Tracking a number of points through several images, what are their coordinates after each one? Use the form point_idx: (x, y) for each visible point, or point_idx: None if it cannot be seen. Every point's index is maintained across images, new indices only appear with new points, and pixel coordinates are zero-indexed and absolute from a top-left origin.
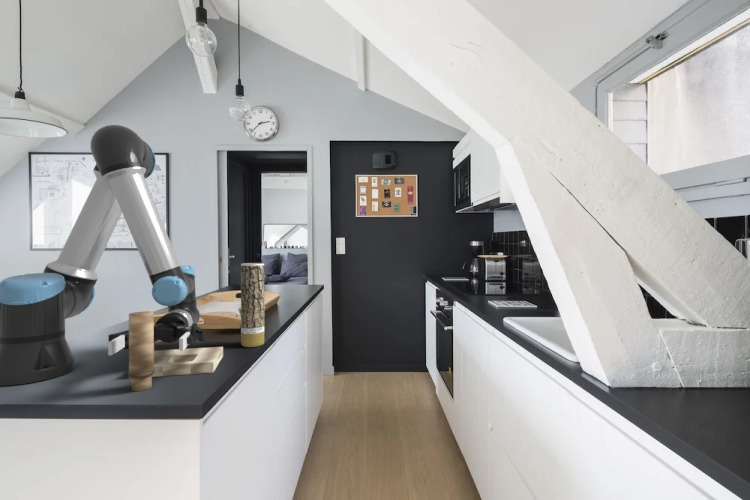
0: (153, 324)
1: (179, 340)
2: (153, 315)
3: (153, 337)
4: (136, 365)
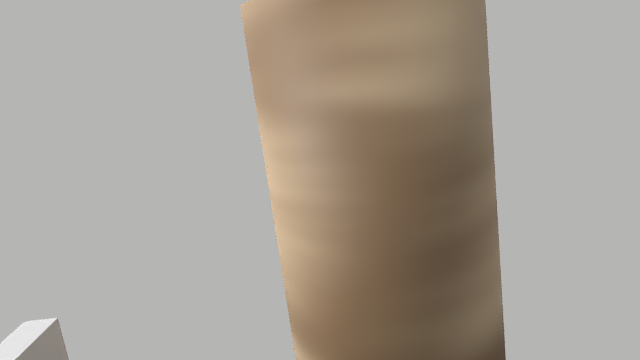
0: (262, 143)
1: (59, 333)
2: (246, 41)
3: (282, 271)
4: None
